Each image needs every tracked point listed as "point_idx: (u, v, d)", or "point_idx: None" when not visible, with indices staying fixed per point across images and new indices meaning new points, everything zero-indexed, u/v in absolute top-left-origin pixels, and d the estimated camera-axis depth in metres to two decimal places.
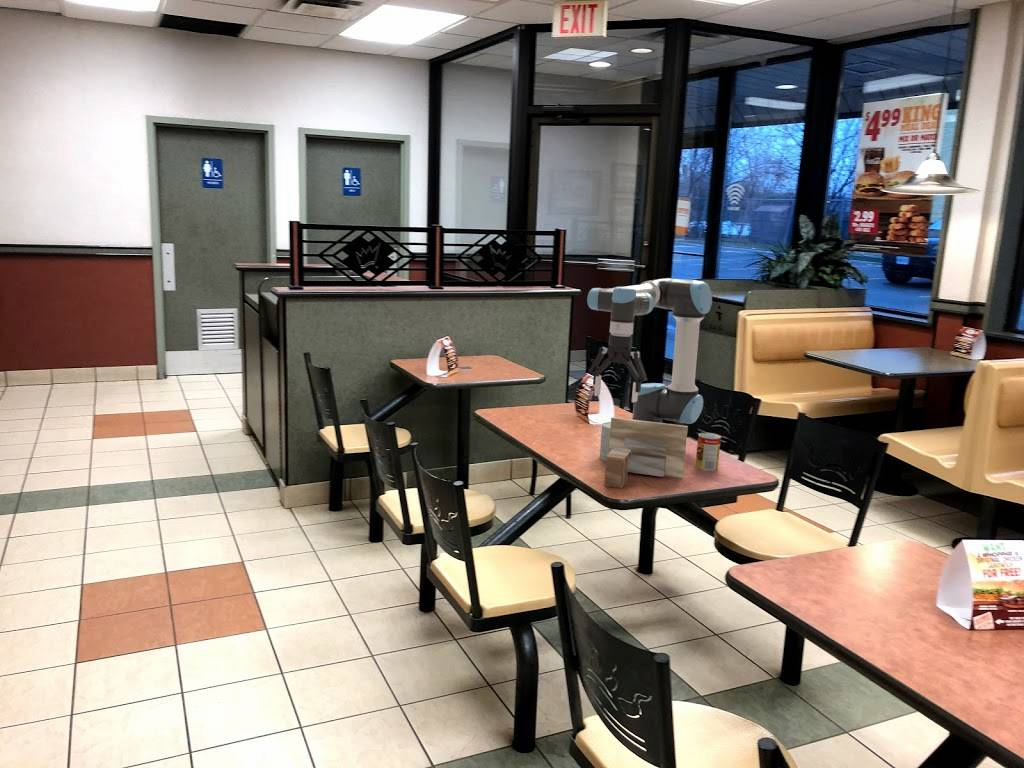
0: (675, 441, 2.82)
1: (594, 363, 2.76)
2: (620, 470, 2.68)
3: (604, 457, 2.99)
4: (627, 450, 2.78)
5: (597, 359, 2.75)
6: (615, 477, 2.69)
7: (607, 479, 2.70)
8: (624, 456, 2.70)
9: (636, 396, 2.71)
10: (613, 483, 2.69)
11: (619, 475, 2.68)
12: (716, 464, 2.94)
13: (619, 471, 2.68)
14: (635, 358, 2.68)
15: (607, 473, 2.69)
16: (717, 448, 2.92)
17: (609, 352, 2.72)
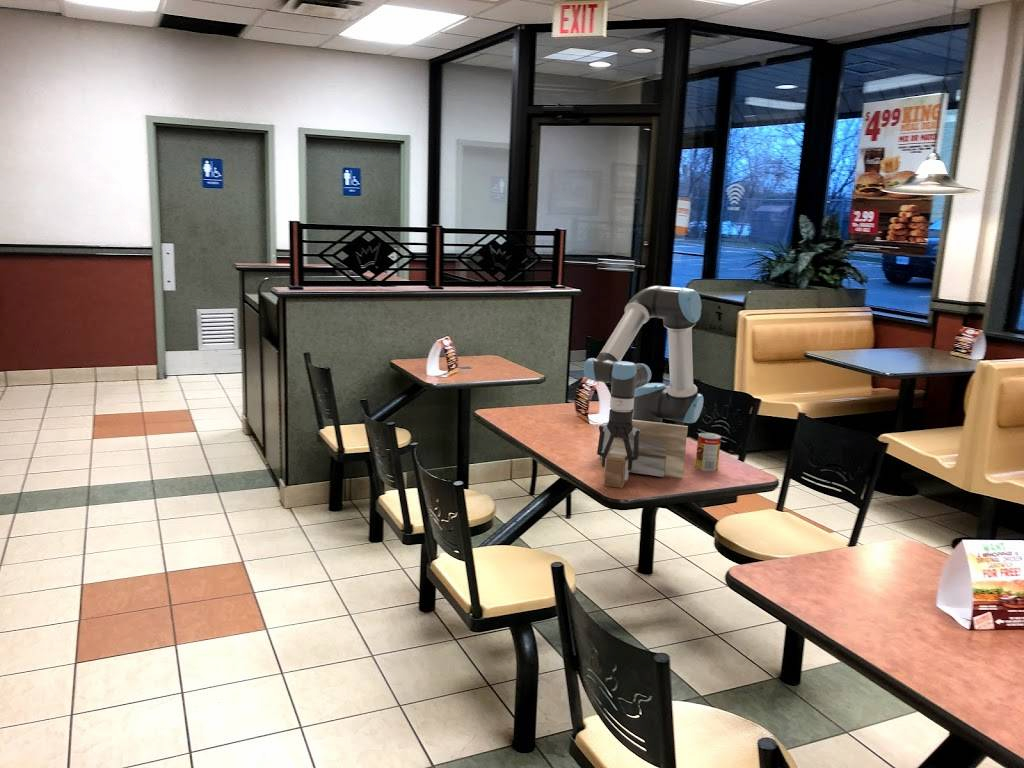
0: (675, 441, 2.82)
1: (600, 444, 2.72)
2: (620, 470, 2.68)
3: None
4: None
5: (601, 439, 2.72)
6: (615, 477, 2.69)
7: (607, 479, 2.70)
8: (624, 456, 2.70)
9: (627, 473, 2.73)
10: (613, 483, 2.69)
11: (619, 475, 2.68)
12: (716, 464, 2.94)
13: (619, 471, 2.68)
14: (636, 436, 2.68)
15: (607, 473, 2.69)
16: (717, 448, 2.92)
17: (610, 427, 2.70)
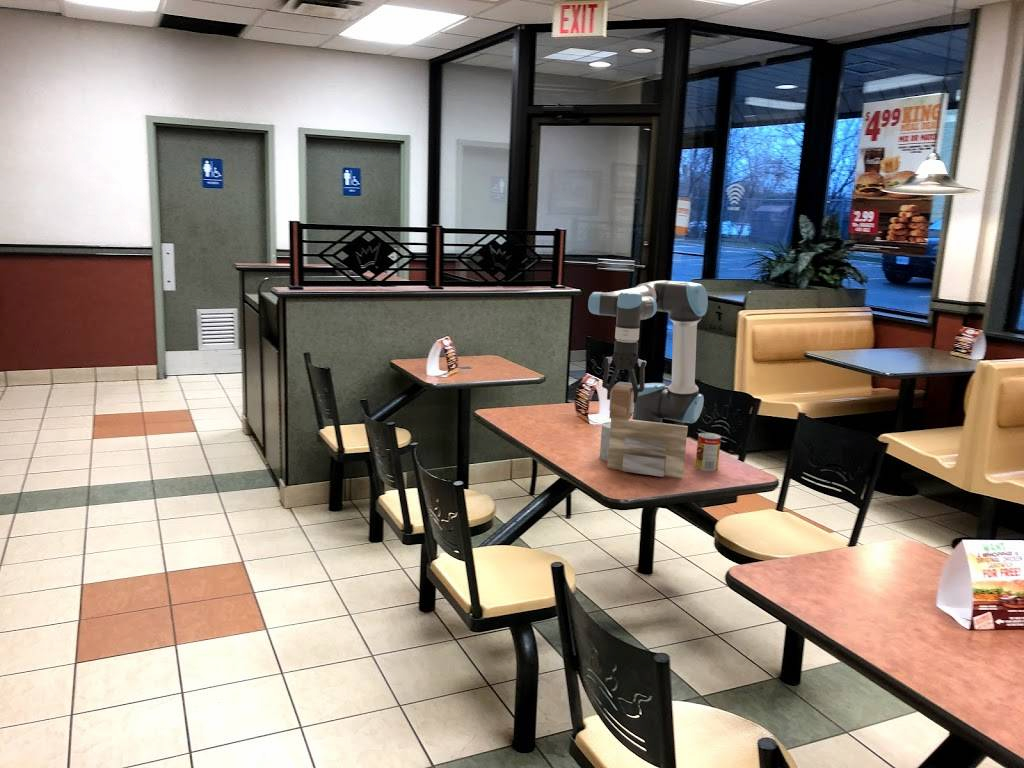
0: (675, 441, 2.82)
1: (605, 376, 2.68)
2: (625, 402, 2.63)
3: (604, 457, 2.99)
4: None
5: (606, 371, 2.67)
6: (620, 409, 2.64)
7: (612, 411, 2.65)
8: (629, 388, 2.66)
9: (633, 406, 2.69)
10: (618, 415, 2.65)
11: (624, 407, 2.64)
12: (716, 464, 2.94)
13: (624, 403, 2.63)
14: (641, 367, 2.64)
15: (612, 405, 2.65)
16: (717, 448, 2.92)
17: (615, 359, 2.66)
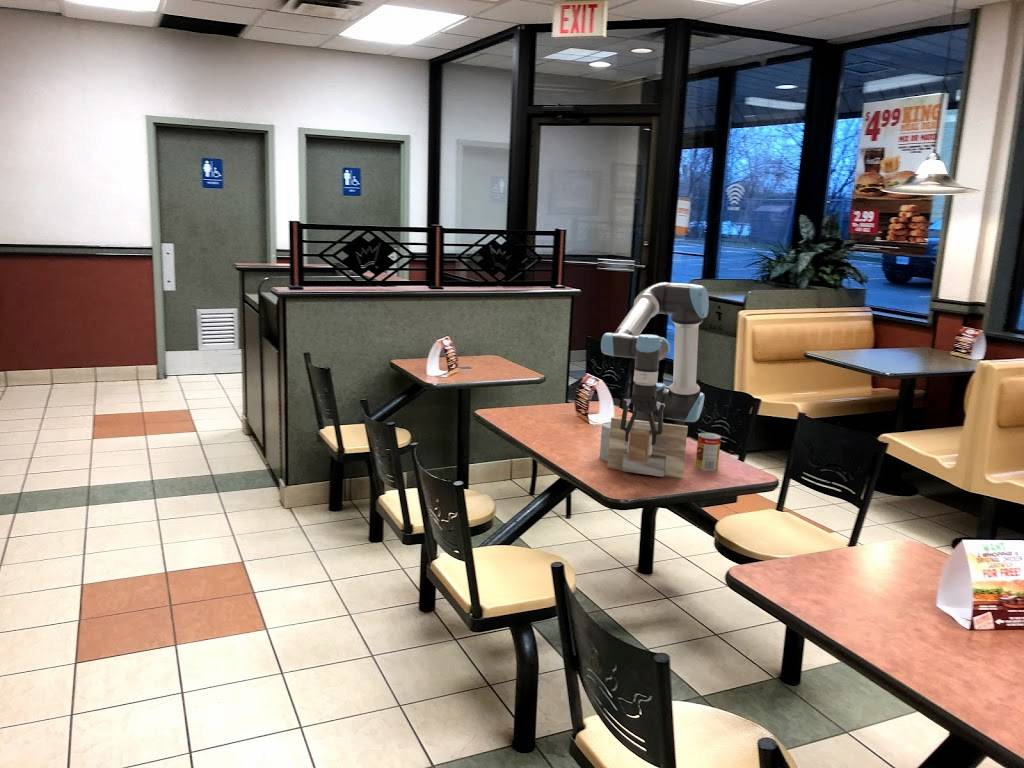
0: (675, 441, 2.82)
1: (623, 418, 2.68)
2: (644, 444, 2.64)
3: (604, 457, 2.99)
4: None
5: (624, 413, 2.68)
6: (639, 452, 2.65)
7: (631, 454, 2.66)
8: (648, 430, 2.66)
9: (651, 448, 2.69)
10: (637, 458, 2.65)
11: (643, 450, 2.64)
12: (716, 464, 2.94)
13: (643, 445, 2.64)
14: (660, 410, 2.64)
15: (631, 448, 2.65)
16: (717, 448, 2.92)
17: (634, 401, 2.66)
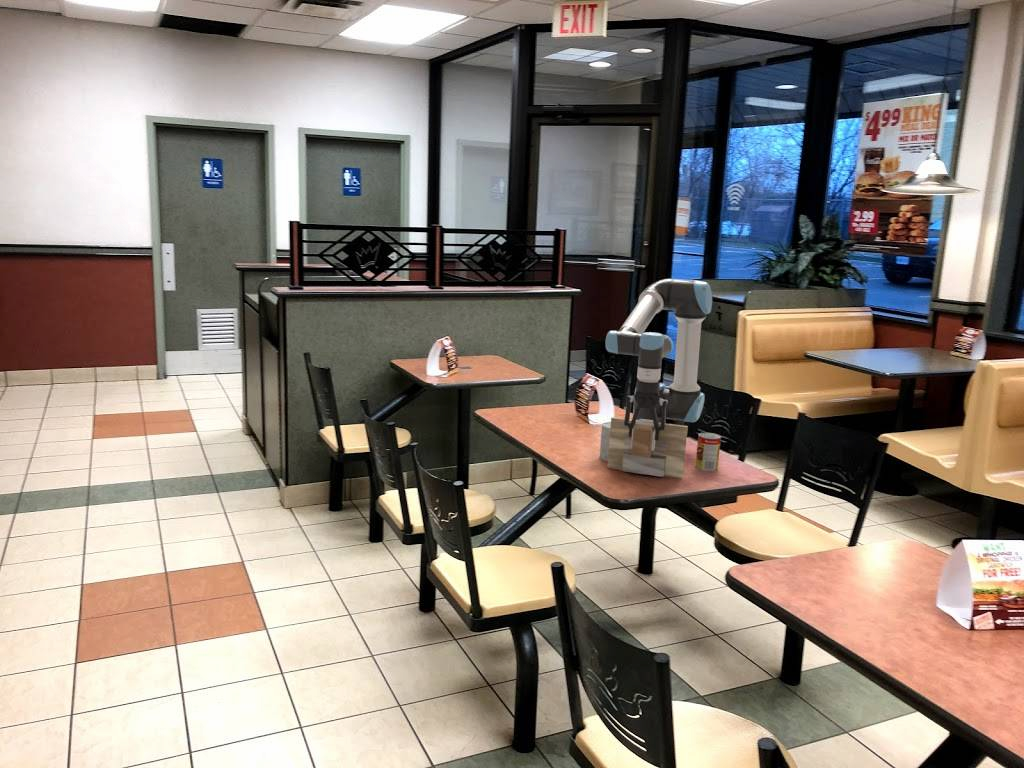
0: (675, 441, 2.82)
1: (627, 414, 2.74)
2: (647, 440, 2.70)
3: (604, 457, 2.99)
4: None
5: (628, 409, 2.74)
6: (642, 447, 2.71)
7: (634, 449, 2.72)
8: (651, 426, 2.72)
9: (654, 444, 2.75)
10: (640, 453, 2.71)
11: (646, 445, 2.70)
12: (716, 464, 2.94)
13: (646, 441, 2.70)
14: (663, 406, 2.70)
15: (634, 443, 2.71)
16: (717, 448, 2.92)
17: (637, 397, 2.72)
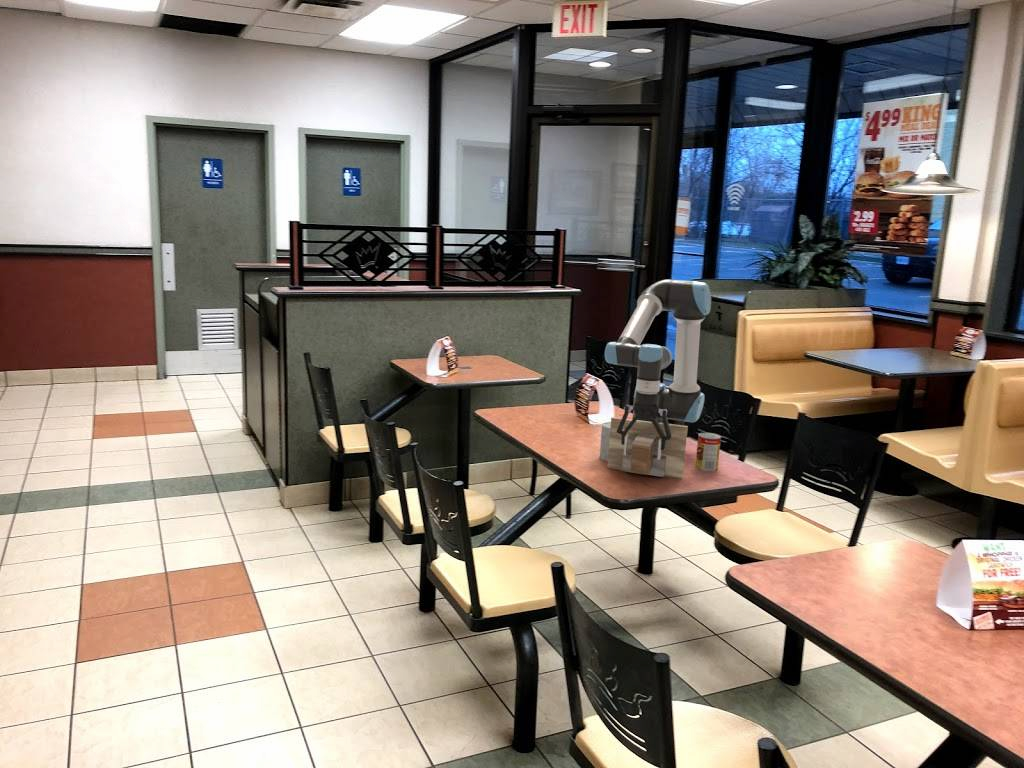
0: (675, 441, 2.82)
1: (621, 423, 2.75)
2: (646, 457, 2.71)
3: (604, 457, 2.99)
4: (652, 436, 2.81)
5: (624, 418, 2.75)
6: (641, 464, 2.72)
7: (633, 466, 2.73)
8: (649, 443, 2.73)
9: (660, 453, 2.75)
10: (639, 470, 2.73)
11: (645, 462, 2.72)
12: (716, 464, 2.94)
13: (645, 458, 2.71)
14: (663, 416, 2.71)
15: (633, 460, 2.73)
16: (717, 448, 2.92)
17: (636, 409, 2.73)
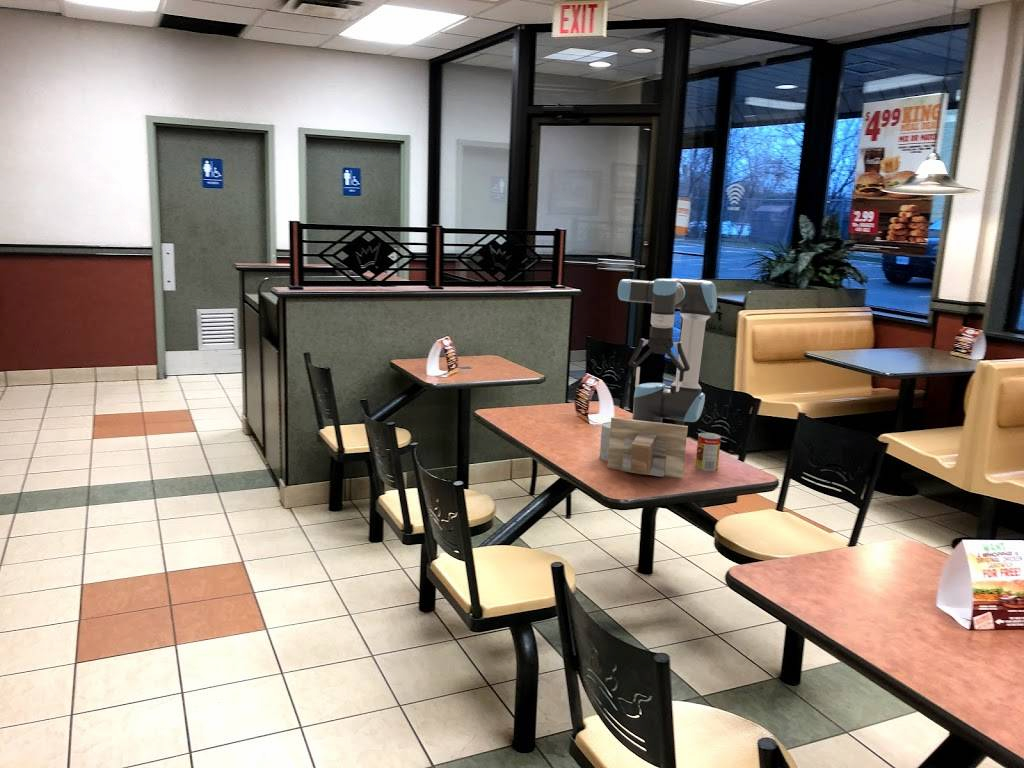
0: (675, 441, 2.82)
1: (634, 355, 2.78)
2: (646, 457, 2.71)
3: (604, 457, 2.99)
4: (652, 436, 2.81)
5: (637, 351, 2.77)
6: (641, 464, 2.72)
7: (633, 466, 2.73)
8: (649, 443, 2.73)
9: (679, 385, 2.77)
10: (639, 470, 2.73)
11: (645, 462, 2.72)
12: (716, 464, 2.94)
13: (645, 458, 2.71)
14: (679, 348, 2.73)
15: (633, 460, 2.73)
16: (717, 448, 2.92)
17: (650, 344, 2.75)
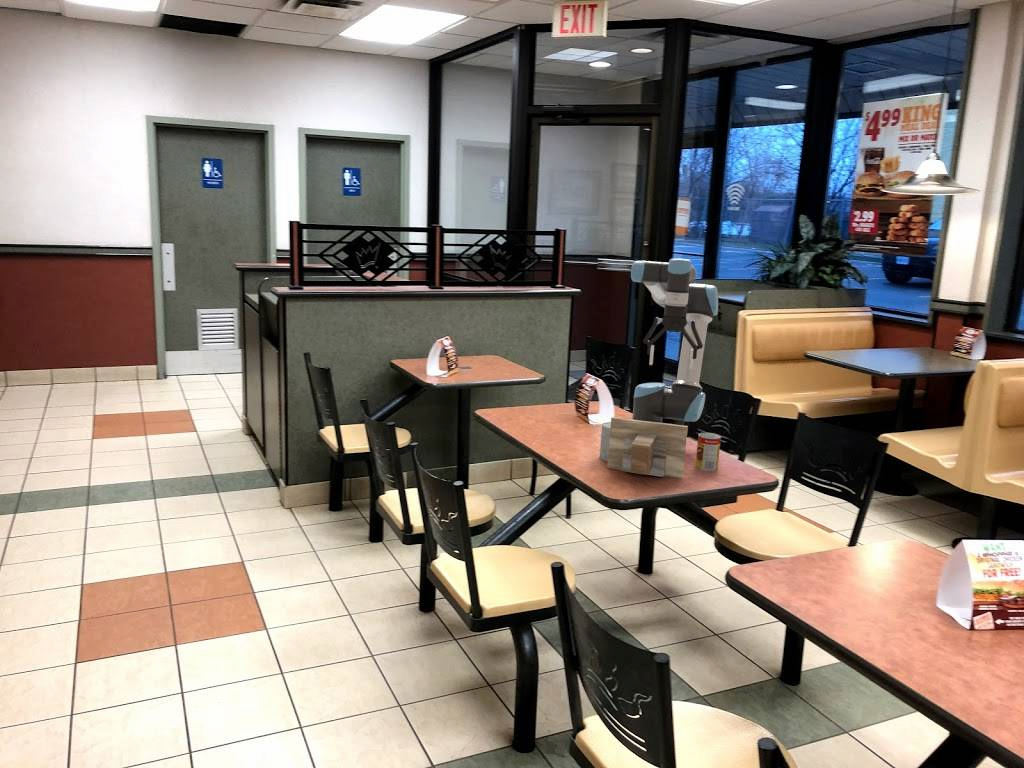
0: (675, 441, 2.82)
1: (649, 333, 2.85)
2: (646, 457, 2.71)
3: (604, 457, 2.99)
4: (652, 436, 2.81)
5: (652, 329, 2.84)
6: (641, 464, 2.72)
7: (633, 466, 2.73)
8: (649, 443, 2.73)
9: (692, 363, 2.84)
10: (639, 470, 2.73)
11: (645, 462, 2.72)
12: (716, 464, 2.94)
13: (645, 458, 2.71)
14: (692, 326, 2.80)
15: (633, 460, 2.73)
16: (717, 448, 2.92)
17: (665, 322, 2.83)
